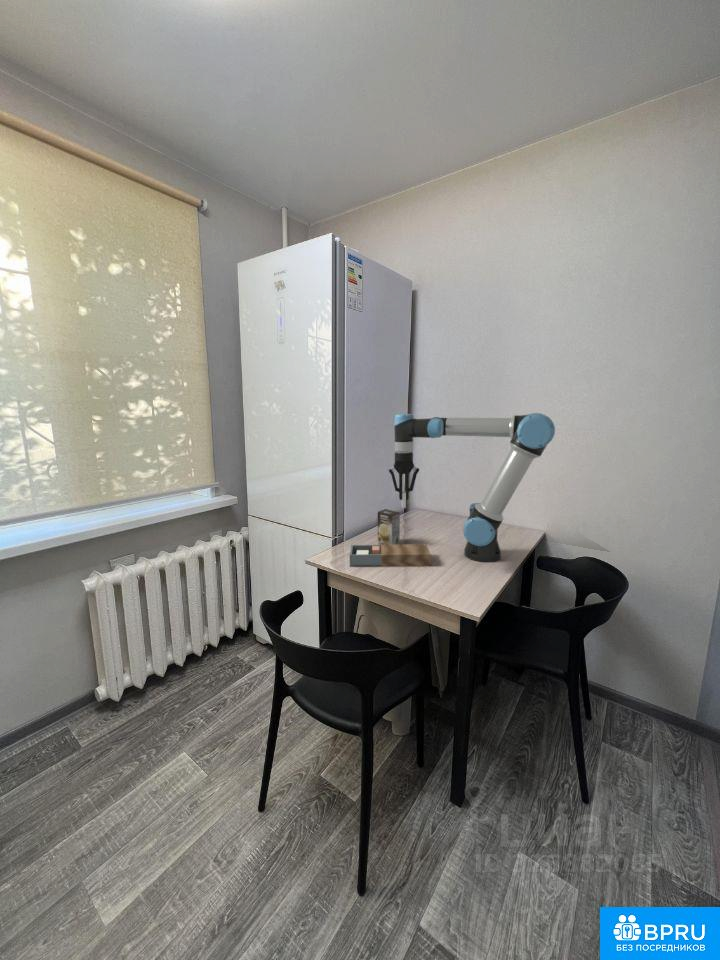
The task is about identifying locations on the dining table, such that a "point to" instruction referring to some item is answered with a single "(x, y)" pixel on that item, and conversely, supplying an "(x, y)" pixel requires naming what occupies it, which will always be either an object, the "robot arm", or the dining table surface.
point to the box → (364, 556)
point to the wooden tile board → (405, 555)
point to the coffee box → (388, 527)
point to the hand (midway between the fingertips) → (403, 507)
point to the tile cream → (362, 552)
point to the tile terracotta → (375, 550)
